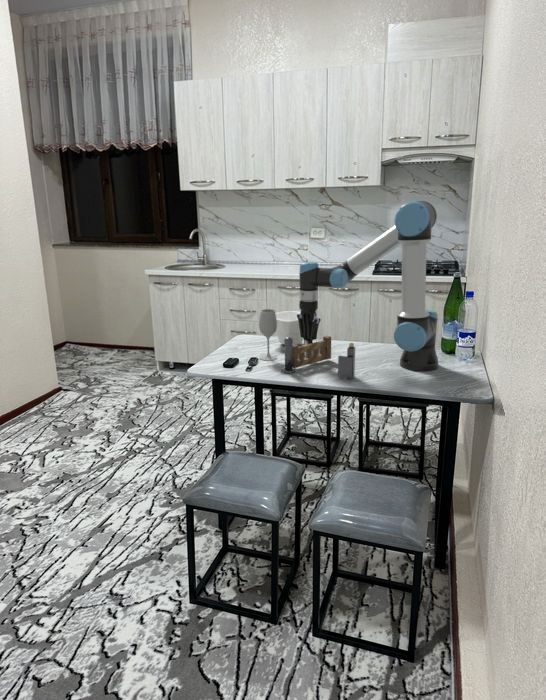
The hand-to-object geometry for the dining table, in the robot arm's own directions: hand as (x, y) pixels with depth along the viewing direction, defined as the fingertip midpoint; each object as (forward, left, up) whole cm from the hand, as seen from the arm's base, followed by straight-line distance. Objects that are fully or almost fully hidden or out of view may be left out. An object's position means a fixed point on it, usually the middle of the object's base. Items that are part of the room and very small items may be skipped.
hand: (308, 354), depth 222 cm
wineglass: (+17, +3, -3) cm, 17 cm away
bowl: (+15, -21, -3) cm, 26 cm away
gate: (-3, +6, -1) cm, 7 cm away
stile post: (-20, +18, -2) cm, 27 cm away
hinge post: (+3, +17, -2) cm, 17 cm away
